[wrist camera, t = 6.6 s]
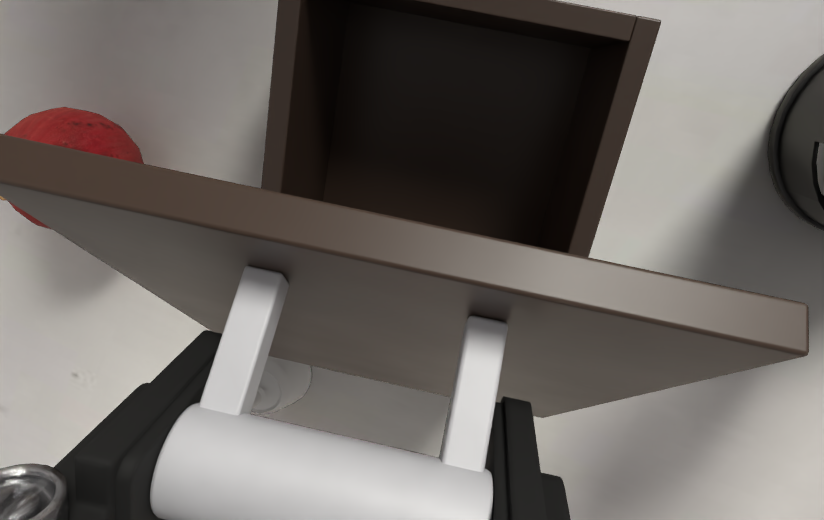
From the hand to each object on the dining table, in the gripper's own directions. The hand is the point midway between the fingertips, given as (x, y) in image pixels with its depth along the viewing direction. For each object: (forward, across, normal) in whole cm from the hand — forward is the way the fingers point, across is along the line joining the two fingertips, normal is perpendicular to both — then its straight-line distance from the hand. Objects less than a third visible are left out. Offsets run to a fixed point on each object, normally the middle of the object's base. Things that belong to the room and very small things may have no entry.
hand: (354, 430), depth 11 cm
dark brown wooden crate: (+19, 0, -2) cm, 19 cm away
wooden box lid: (+5, 0, 0) cm, 5 cm away
